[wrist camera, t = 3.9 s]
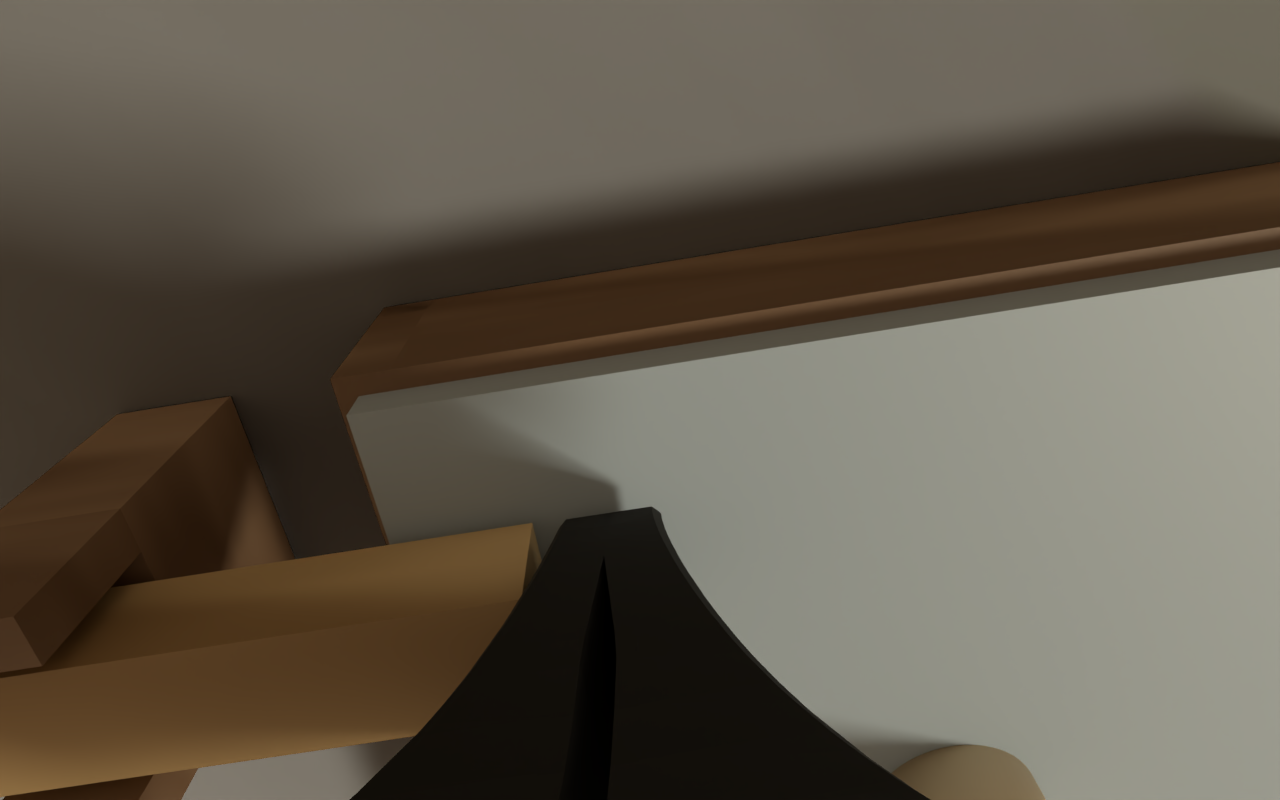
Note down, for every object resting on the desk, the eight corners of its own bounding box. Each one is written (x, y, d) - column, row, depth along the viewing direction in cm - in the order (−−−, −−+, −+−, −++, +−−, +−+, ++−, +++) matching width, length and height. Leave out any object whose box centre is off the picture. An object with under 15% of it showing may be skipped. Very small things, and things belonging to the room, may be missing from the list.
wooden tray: (1242, 774, 19) (1485, 1062, 14) (343, 900, 20) (247, 1222, 14) (1370, 147, 13) (1872, 233, 8) (90, 355, 14) (-223, 560, 9)
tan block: (562, 631, 12) (554, 740, 10) (-28, 719, 12) (-137, 840, 11) (530, 502, 11) (515, 596, 9) (-106, 600, 11) (-240, 710, 10)
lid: (1305, 855, 17) (1519, 1112, 13) (557, 958, 17) (543, 1237, 13) (1477, 196, 11) (1945, 293, 7) (373, 373, 12) (257, 552, 8)
